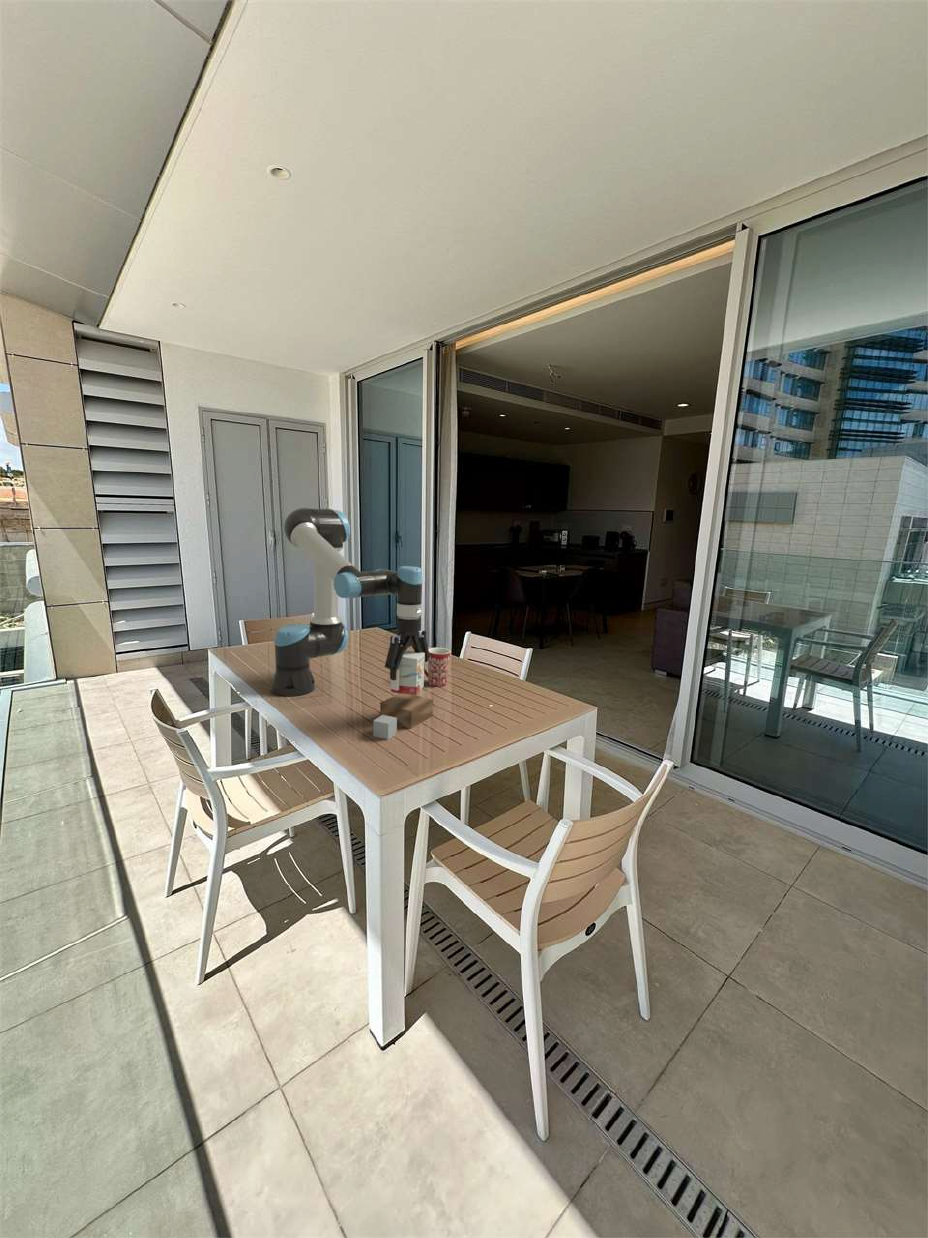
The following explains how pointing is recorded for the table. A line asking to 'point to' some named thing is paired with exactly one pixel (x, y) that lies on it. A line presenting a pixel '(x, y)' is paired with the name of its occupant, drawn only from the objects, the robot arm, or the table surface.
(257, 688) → the table surface
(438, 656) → the mug
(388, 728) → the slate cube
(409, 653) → the ink box
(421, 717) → the walnut block
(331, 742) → the table surface
